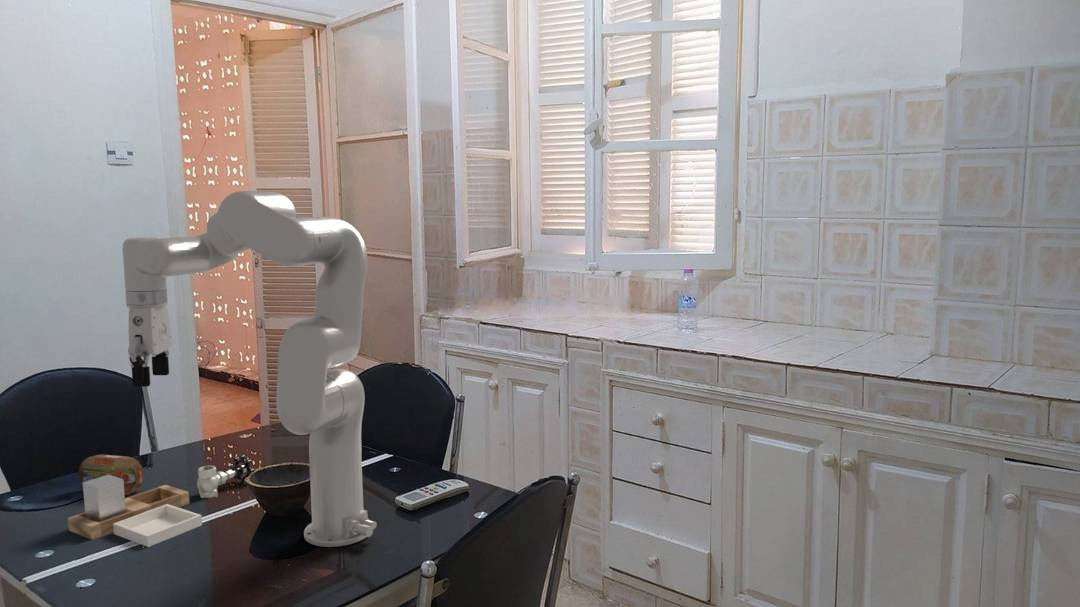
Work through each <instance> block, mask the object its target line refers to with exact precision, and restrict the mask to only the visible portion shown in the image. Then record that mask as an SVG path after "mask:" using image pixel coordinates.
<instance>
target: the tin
mask: <svg viewBox="0 0 1080 607" xmlns="http://www.w3.org/2000/svg"><path fill="white" fill-rule="evenodd" d="M106 475H112V476H115V477H118V478H121V479H123V482H124V495H126V496H130V495H131V494H134V493H136V492H137V491H139V490H140V489H141V487H142V486H143V484H144V477H145V476H144V469H143V467H142V464H140V462H139V461H138V460H137V459H135V458H134V457H132V456H126V455H125V456H123V455H110V454H96V455H93V456H92V455H91V456H88V457H86V458H84V459H83V460H82V462H81V463H80V466H79V468H78V480H79V482H80V484H81V486H82V487H83V482H86V481H89V480H93V479H96V478H99V477H102V476H106Z"/></svg>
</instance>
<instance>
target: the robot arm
mask: <svg viewBox="0 0 1080 607" xmlns="http://www.w3.org/2000/svg"><path fill="white" fill-rule="evenodd" d="M296 212H297V210H296V207H295V205H294V203H293V202H292V201H291V199H290V198H289V197H287V196H286V195H284V194H282V193H279V192H276V191H269V190H266V191H265V190H240V191H239V190H238V191H234V192H232V193H230V194H228V195H227V196H225V197H224V198H223V200H222V201H221V202H220V203H219V206H218V210H217V212H216V213H213V214H212V215H211V216H210V217H209V218H208V220H207V223H206V232H205V233H203V234H199V235H195V236H178V237H177V236H176V237H166V238H165V237H164V238H163V237H162V238H157V237H131V238H127V239H125V240H124V241H123V244H122V257H123V258H122V259H123V275H124V289H125V293H124V294H125V307H126V308H129V309H128V348H127V353H128V355H129V358H128V359H129V362H130V367H131V378H132V386H133V387H134V388H137V387H141V388H142V387H143V388H144V387H150V386H151V372H150V370H151V369H152V375H153V376H168V375H169V374H170V364H169V361H170V360H169V353H170V352H169V349H170V348H171V347H172V346H173V344H172V342H173V341H172V331H171V323H170V315H169V310H168V289H167V288H168V286H167V277H174V276H180V275H190V274H191V275H193V274H201V273H204V272H208V271H211V270H213V269H214V270H215V269H217V268H219V267H220V266H223V265H226V264H229V263H230V262H232V261H233V260H234V259H235V258H236V257H237V256H239V254H240V253H243V252H244V251H246V250H251V251H253V252H255V253H257V254H259V255H261V256H262V257H264V258H266V259H268V260H270V261H272V262H273V263H275V264H278V265H279V266H280V265H281V266H285V267H290V268H291V267H300V266H301V267H302V266H310V265H317V264H318V265H319V264H322V265H324V268H323V271H322V273H321V275H320V277H319V279H318V282H317V285H316V290H315V294H314V295H315V296H314V297H315V299H314V300H315V302H314V312H313V316H312V317H311V318H307V319H303V320H299V321H297V322H295V323H293V324H292V325H290V327H289V328H287V330H286V331H285V332H284V334H283V336H282V338H281V340H280V343H279V347H278V356H277V357H278V359H277V375H276V376H277V377H276V378H277V379H276V380H277V381H276V382H277V383H276V411H277V416H278V418H279V420H280V423H281V424H282V426H283V427H284V428H285V429H286V430H287V431H288V432H290V433H291V434H294V435H299V436H304V435H309V440H308V441H309V442H308V456H309V457H308V460H309V481H310V484H309V485H310V499H311V500H310V502H311V503H310V504H311V507H310V508H311V523H309V524H307V526H306V527H305V528H304V530H303V538H304V540H305V541H306V542H307V543H309V544H311V545H314V546H316V547H324V548H326V547H327V548H333V547H335V548H336V547H337V548H338V547H345V546H349V545H352V544H356V543H359V542H360V541H363V540H365V539H366V538H370V537H371V536H372V535H373V533H374V530H375V529H376V528H377V525H378V523H377V522H376V521H374V520H371V519H370V518H369V517H368V510H366V509H364V492H363V490H364V489H363V469H362V468H363V464H362V462H363V461H362V453H363V452H362V424H363V423H362V422H363V415H364V408H365V401H366V400H365V398H366V397H365V395H366V394H365V389H364V385H363V383H362V380H360V378H359V377H358V376H357V374H355V373H354V372H352V371H350V370H348V369H346V368H345V369H344V368H343V369H342V368H335V367H339V366H341V365H344V364H346V363H348V362H351V361H352V360H353V359H355V358H356V357H357V356H358V354H359V351H360V347H361V343H362V342H361V341H362V328H363V326H362V325H363V315H364V314H363V312H364V292H365V284H366V277H367V271H368V270H367V269H368V250H367V247H366V243H365V242H364V241H365V240H364V239H363V237H362V236H361V234H360V232H359V231H358V230H357V229H356V228H355V227H354V226H353V225H352V224H350V223H349V222H348V221H345V220H343V219H342V218H341V219H340V218H336V217H333V216H301V217H299V216H298V217H297V213H296ZM150 357H151V365H152V366H151V368H150V366H148V364H149V361H150V360H149V359H150Z"/></svg>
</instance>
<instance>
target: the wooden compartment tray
mask: <svg viewBox="0 0 1080 607" xmlns="http://www.w3.org/2000/svg"><path fill="white" fill-rule="evenodd" d="M189 494H190V492H189V491H187V490H184V489H182V488H177V487H175V486H171V485H168V484H163V485H160V486H158V487H155V488H152V489H149V490H146V491H143V492H139V493H137V494H134V495H131V496H128V497H125V507H126V513H124V514H121V515H118V516H115V517H112V518H110V519H107V520H104V521H101V522H95V521H93V520H90V519H87V518H86V515H85V511H84V512H81V513H78V514H75V515H73V516H70V517H67V525H68V526H67V527H68V531H69V532H70V533H71V532H72V533H74V534H76V535H78V536H81V537H84V538H87V539H89V540H95V539H98V538H100V537H104V536H106V535H109V534H111V533H114V530H113V523H116V522H119V521H122V520H124V519H127V518H130V517H133V516H135V515H138V514H141V513H144V512H146V511H149V510H152V509H155V508H157V507H160V506H163V505H166V504H169V505H172V506H175V507H178V508H181V507H183V506H186V505H189V504H190V495H189Z"/></svg>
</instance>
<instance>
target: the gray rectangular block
mask: <svg viewBox="0 0 1080 607" xmlns="http://www.w3.org/2000/svg"><path fill="white" fill-rule="evenodd" d="M82 489H83V492H82V493H83V501H84V503H83V504H84V512H85V515H86V518H87V519H90V520H93V521H95V522H101V521H104V520H107V519H110V518H112V517H115V516H118V515H121V514H124V513H126V507H125V498H126V497H125V495H124V482H123V479H121V478H118V477H115V476H112V475H106V476H102V477H99V478H96V479H93V480H89V481H86V482H83V486H82Z"/></svg>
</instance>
